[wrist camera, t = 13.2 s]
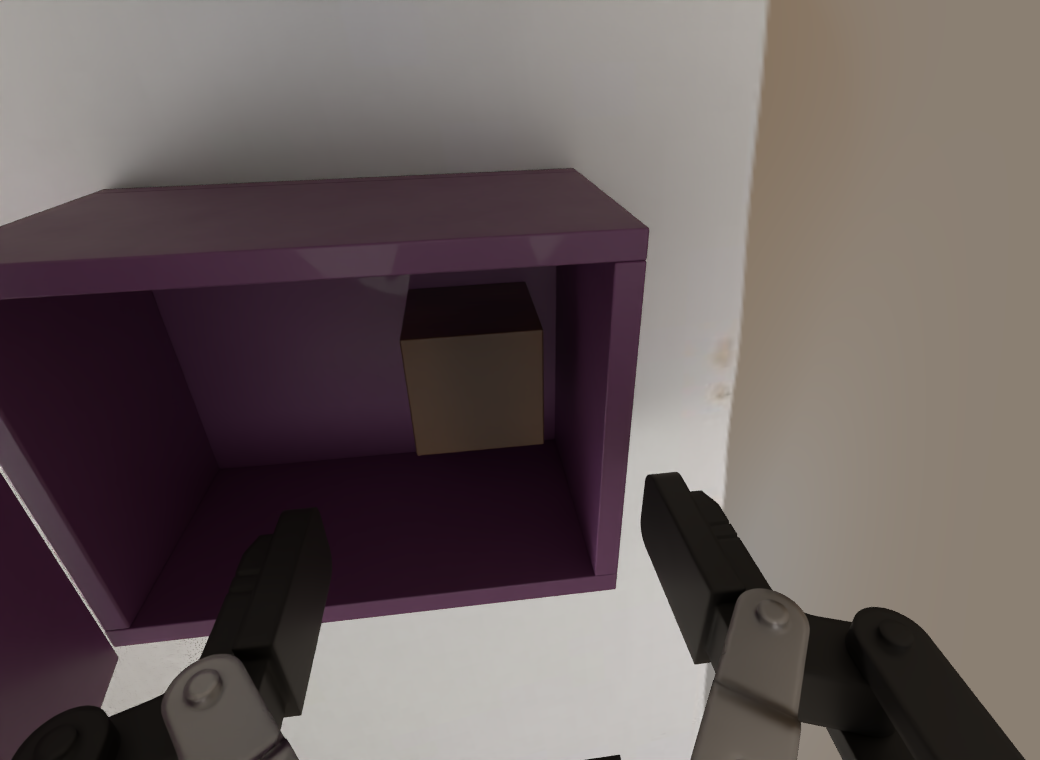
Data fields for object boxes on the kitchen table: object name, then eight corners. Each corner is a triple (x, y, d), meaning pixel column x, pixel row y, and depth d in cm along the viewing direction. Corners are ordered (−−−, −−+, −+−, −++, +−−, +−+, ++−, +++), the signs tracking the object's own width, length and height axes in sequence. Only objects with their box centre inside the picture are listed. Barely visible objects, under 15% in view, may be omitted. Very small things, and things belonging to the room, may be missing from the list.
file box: (574, 167, 20) (650, 227, 13) (567, 440, 27) (616, 589, 19) (102, 189, 19) (-128, 271, 11) (213, 472, 25) (113, 647, 18)
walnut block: (421, 390, 23) (416, 456, 19) (407, 288, 21) (398, 340, 17) (528, 381, 24) (544, 444, 20) (525, 281, 22) (543, 329, 18)
